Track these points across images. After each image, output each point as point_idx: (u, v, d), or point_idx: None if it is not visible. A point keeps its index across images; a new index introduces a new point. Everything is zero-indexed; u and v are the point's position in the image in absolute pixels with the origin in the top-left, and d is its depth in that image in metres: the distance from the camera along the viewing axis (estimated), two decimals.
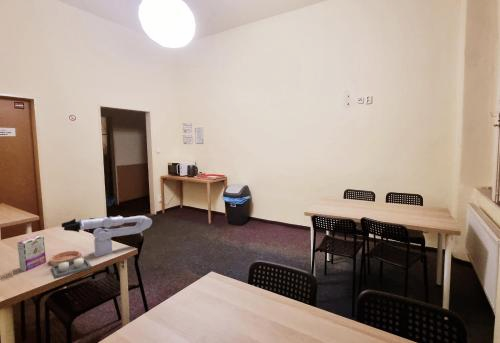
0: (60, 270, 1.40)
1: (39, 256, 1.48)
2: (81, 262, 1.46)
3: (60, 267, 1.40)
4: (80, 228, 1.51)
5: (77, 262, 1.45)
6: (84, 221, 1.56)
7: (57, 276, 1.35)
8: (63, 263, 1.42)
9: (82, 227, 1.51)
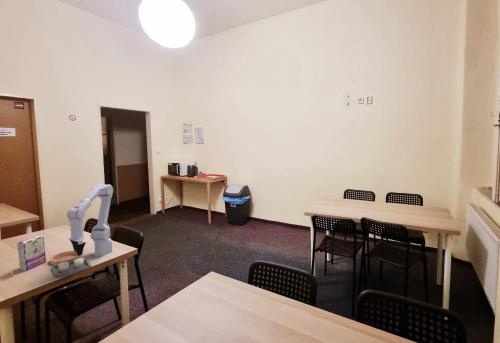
0: (60, 270, 1.40)
1: (39, 256, 1.48)
2: (81, 262, 1.46)
3: (60, 267, 1.40)
4: (81, 243, 1.41)
5: (77, 262, 1.45)
6: (73, 236, 1.43)
7: (57, 276, 1.35)
8: (63, 263, 1.42)
9: (80, 242, 1.40)
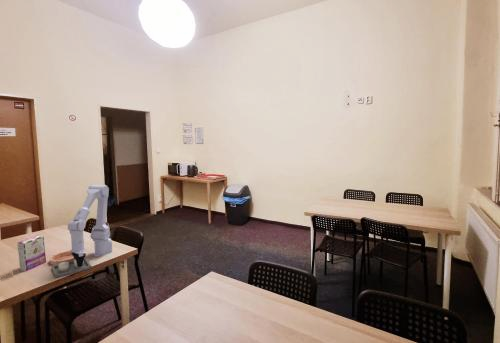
0: (60, 270, 1.40)
1: (39, 256, 1.48)
2: None
3: (60, 267, 1.40)
4: (81, 255, 1.42)
5: None
6: (73, 248, 1.43)
7: (57, 276, 1.35)
8: (63, 263, 1.42)
9: (80, 254, 1.41)
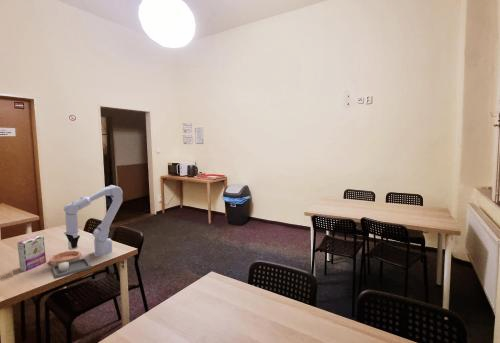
0: (60, 270, 1.40)
1: (39, 256, 1.48)
2: None
3: (60, 267, 1.40)
4: (76, 237, 1.49)
5: None
6: (68, 231, 1.51)
7: (57, 276, 1.35)
8: (63, 263, 1.42)
9: (75, 236, 1.48)
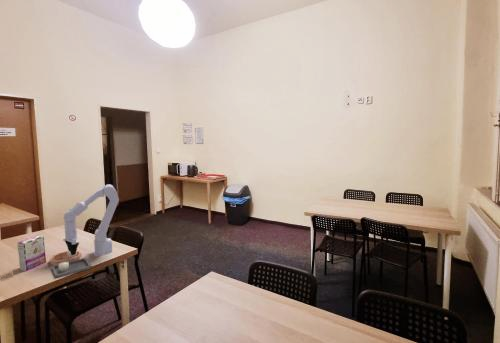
0: (60, 270, 1.40)
1: (39, 256, 1.48)
2: None
3: (60, 267, 1.40)
4: (74, 243, 1.52)
5: (70, 254, 1.56)
6: (67, 237, 1.54)
7: (57, 276, 1.35)
8: (63, 263, 1.42)
9: (73, 242, 1.52)
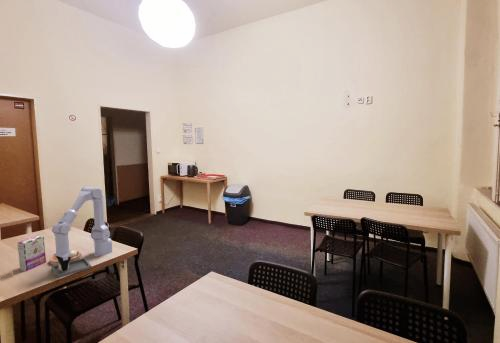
0: (60, 270, 1.40)
1: (39, 256, 1.48)
2: (74, 254, 1.57)
3: (60, 267, 1.40)
4: (66, 259, 1.37)
5: (70, 254, 1.56)
6: (58, 252, 1.39)
7: (57, 276, 1.35)
8: None
9: (65, 258, 1.36)
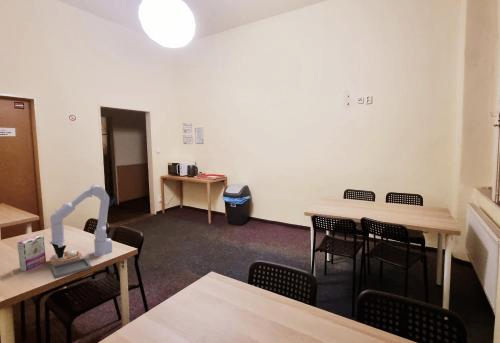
0: None
1: (39, 256, 1.48)
2: (74, 254, 1.57)
3: (56, 258, 1.51)
4: (61, 246, 1.48)
5: (70, 254, 1.56)
6: (53, 240, 1.49)
7: (57, 276, 1.35)
8: None
9: (60, 245, 1.47)
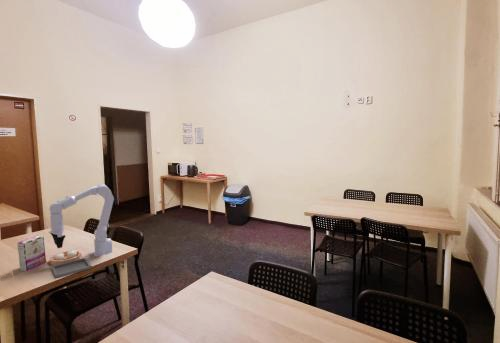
0: None
1: (39, 256, 1.48)
2: (74, 254, 1.57)
3: (56, 258, 1.51)
4: (60, 236, 1.47)
5: (70, 254, 1.56)
6: (53, 230, 1.49)
7: (57, 276, 1.35)
8: (58, 254, 1.53)
9: (59, 235, 1.47)
